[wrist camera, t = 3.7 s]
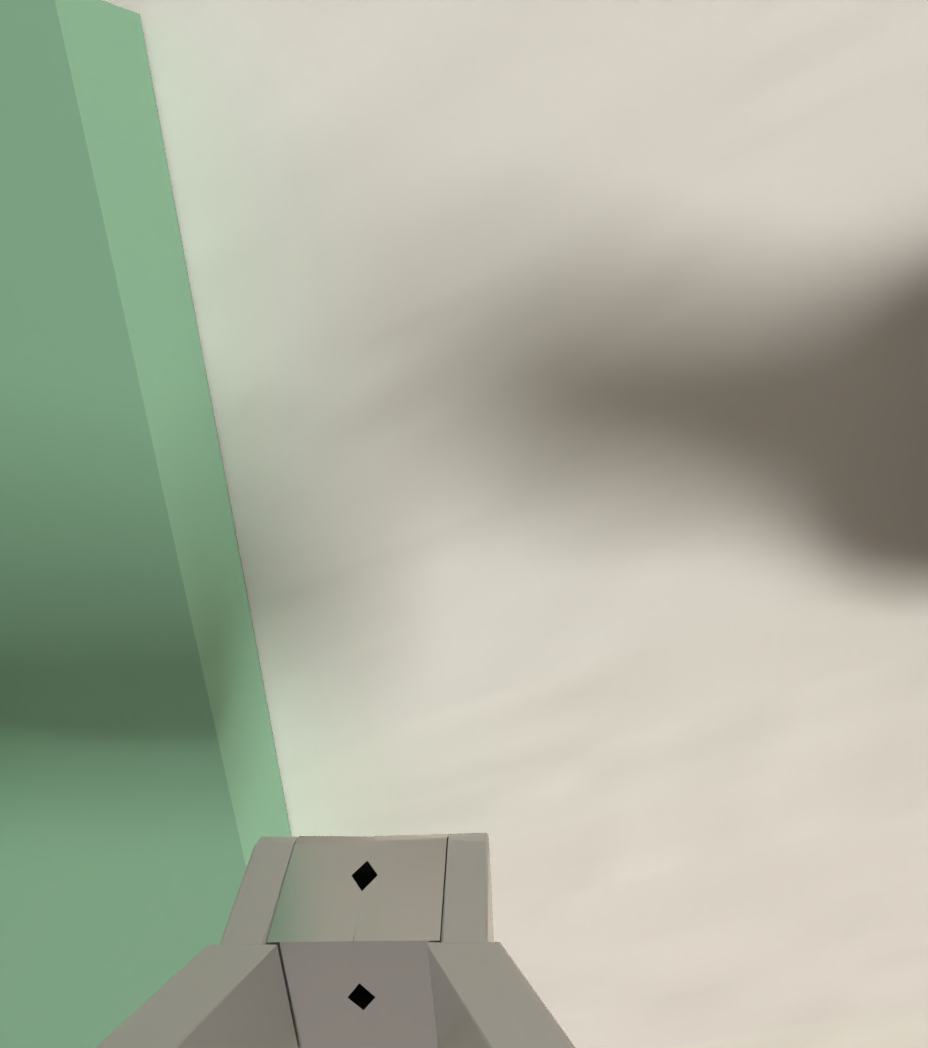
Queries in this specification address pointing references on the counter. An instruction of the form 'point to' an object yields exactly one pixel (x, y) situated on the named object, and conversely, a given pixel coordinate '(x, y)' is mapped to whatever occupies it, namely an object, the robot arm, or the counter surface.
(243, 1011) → the robot arm
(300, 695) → the counter surface
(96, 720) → the practice green
